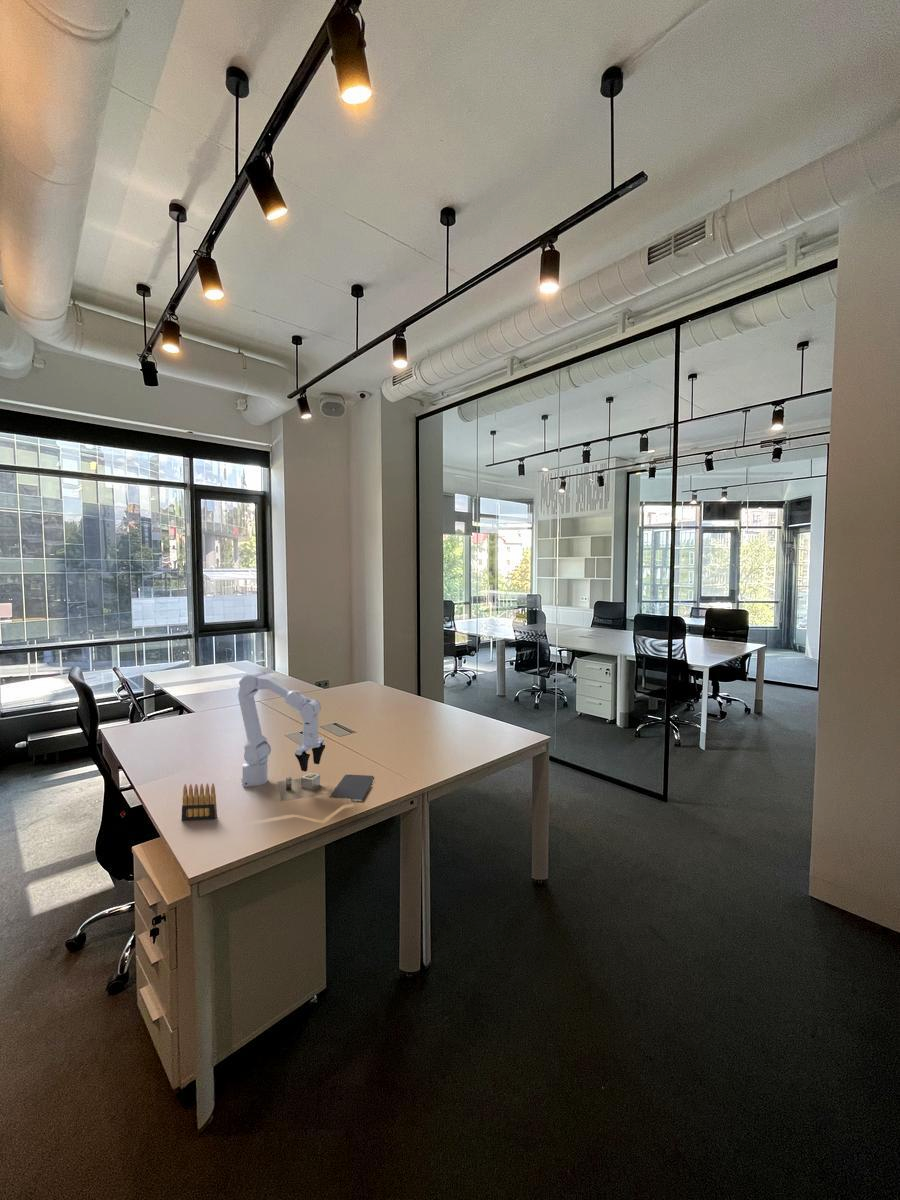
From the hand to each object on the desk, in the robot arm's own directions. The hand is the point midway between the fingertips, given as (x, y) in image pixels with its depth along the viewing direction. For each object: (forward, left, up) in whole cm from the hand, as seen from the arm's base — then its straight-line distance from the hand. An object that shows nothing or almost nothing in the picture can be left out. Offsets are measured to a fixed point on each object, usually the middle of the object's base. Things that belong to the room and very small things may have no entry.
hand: (310, 767), depth 186 cm
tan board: (-4, 0, -8) cm, 9 cm away
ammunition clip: (-37, -10, -9) cm, 40 cm away
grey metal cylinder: (-8, 0, -7) cm, 11 cm away
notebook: (+15, -6, -9) cm, 19 cm away
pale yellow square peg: (0, 0, -7) cm, 7 cm away
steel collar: (0, 0, -7) cm, 7 cm away
